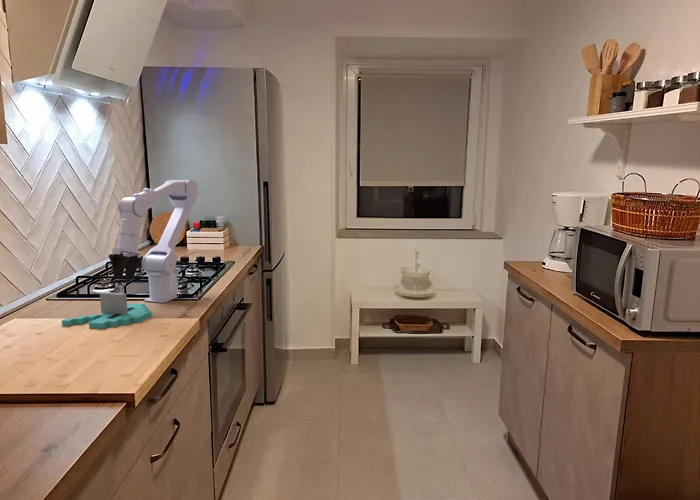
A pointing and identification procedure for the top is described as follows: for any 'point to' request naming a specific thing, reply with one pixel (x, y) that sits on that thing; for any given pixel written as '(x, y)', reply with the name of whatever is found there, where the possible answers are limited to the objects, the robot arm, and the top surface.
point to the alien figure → (113, 317)
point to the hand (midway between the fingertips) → (123, 279)
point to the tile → (113, 303)
